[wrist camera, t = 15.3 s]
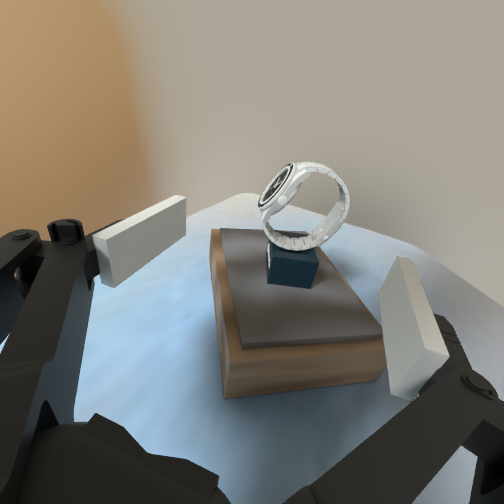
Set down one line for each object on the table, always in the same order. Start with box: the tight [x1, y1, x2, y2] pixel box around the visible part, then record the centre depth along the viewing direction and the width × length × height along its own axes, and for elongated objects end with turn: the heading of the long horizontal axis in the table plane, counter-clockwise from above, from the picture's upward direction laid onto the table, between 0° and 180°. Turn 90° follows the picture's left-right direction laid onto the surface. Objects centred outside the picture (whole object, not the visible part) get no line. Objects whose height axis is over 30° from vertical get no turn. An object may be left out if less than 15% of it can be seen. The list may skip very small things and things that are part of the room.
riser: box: [209, 228, 387, 399], centre depth 29 cm, size 20×14×5 cm
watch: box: [258, 161, 350, 289], centre depth 25 cm, size 6×8×11 cm
